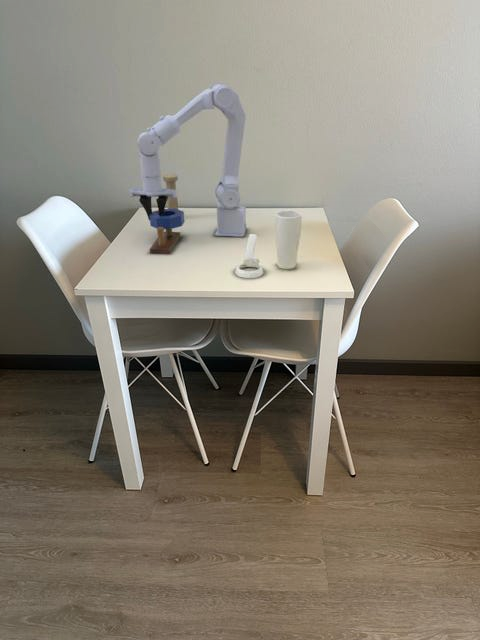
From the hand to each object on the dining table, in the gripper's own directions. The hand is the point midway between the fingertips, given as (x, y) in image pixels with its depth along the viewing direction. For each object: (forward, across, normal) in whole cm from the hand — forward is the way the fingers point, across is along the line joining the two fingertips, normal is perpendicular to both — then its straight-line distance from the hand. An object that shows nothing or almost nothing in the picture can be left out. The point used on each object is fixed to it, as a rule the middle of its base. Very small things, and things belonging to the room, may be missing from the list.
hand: (156, 219), depth 147 cm
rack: (+6, +4, -4) cm, 9 cm away
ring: (+1, +4, 0) cm, 4 cm away
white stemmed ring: (+7, +32, -23) cm, 40 cm away
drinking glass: (+7, +42, -18) cm, 46 cm away
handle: (+7, 0, +22) cm, 23 cm away
